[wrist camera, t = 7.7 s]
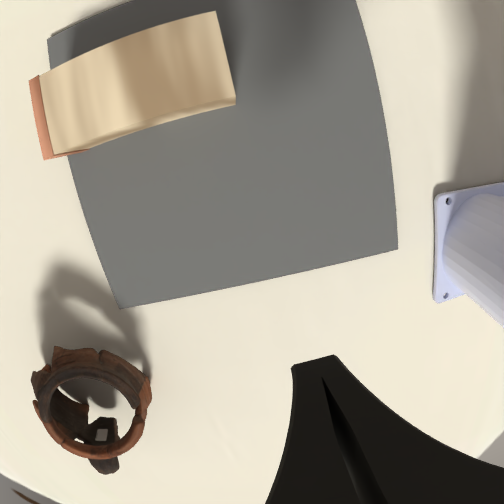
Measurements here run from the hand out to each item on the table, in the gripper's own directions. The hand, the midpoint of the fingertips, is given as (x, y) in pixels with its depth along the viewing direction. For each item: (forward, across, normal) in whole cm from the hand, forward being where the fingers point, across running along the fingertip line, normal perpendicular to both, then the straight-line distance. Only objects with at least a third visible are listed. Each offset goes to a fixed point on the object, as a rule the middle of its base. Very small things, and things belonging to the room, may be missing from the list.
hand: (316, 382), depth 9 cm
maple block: (+8, 0, -11) cm, 14 cm away
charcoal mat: (+10, +1, -8) cm, 13 cm away
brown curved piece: (+11, +16, +8) cm, 21 cm away
